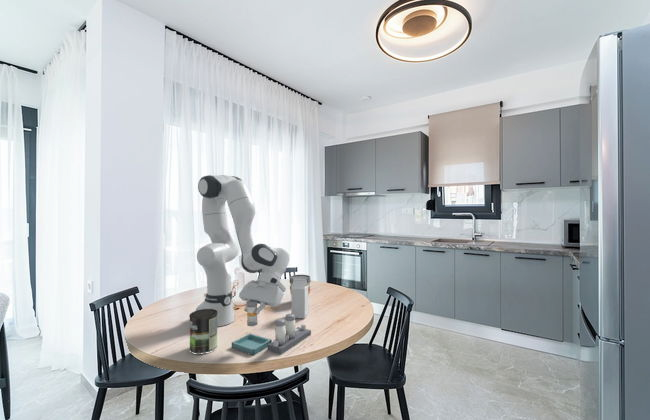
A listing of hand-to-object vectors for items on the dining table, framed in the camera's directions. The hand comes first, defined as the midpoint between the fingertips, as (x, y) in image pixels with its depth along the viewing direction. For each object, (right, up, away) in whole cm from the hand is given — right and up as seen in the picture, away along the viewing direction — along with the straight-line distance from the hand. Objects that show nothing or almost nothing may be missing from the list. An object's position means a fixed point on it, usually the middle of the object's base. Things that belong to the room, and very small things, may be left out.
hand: (251, 312), depth 116 cm
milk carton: (+17, -14, +34) cm, 40 cm away
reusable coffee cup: (+15, -14, +56) cm, 59 cm away
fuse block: (+15, -14, +4) cm, 21 cm away
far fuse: (+12, -12, -1) cm, 17 cm away
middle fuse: (+15, -12, +4) cm, 20 cm away
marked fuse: (0, -5, 0) cm, 5 cm away
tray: (0, -14, +1) cm, 14 cm away
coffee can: (-18, -14, -1) cm, 23 cm away
